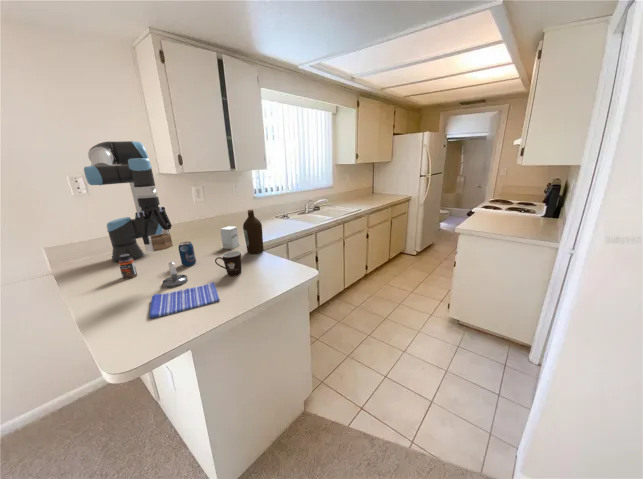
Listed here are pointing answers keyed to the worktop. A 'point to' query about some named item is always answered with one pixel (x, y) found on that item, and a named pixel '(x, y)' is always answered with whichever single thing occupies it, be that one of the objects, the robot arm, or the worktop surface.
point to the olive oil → (253, 234)
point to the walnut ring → (161, 241)
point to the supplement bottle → (127, 266)
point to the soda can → (187, 254)
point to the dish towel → (183, 300)
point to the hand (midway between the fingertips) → (159, 247)
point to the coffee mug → (231, 262)
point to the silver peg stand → (174, 277)
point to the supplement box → (229, 237)
